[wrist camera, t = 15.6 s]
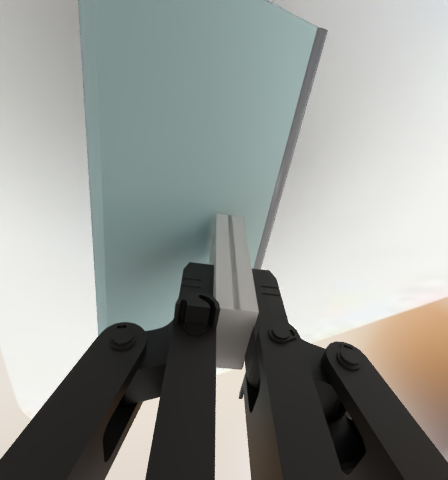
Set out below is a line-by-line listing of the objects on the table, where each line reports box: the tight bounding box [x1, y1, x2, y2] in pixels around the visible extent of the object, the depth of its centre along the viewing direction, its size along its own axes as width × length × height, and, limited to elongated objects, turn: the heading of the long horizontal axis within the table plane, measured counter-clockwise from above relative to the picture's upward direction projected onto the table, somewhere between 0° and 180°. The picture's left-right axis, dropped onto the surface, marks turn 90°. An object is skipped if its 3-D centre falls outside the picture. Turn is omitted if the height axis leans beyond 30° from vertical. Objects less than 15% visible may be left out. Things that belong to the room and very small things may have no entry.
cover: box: [78, 0, 328, 402], centre depth 16 cm, size 20×12×1 cm
